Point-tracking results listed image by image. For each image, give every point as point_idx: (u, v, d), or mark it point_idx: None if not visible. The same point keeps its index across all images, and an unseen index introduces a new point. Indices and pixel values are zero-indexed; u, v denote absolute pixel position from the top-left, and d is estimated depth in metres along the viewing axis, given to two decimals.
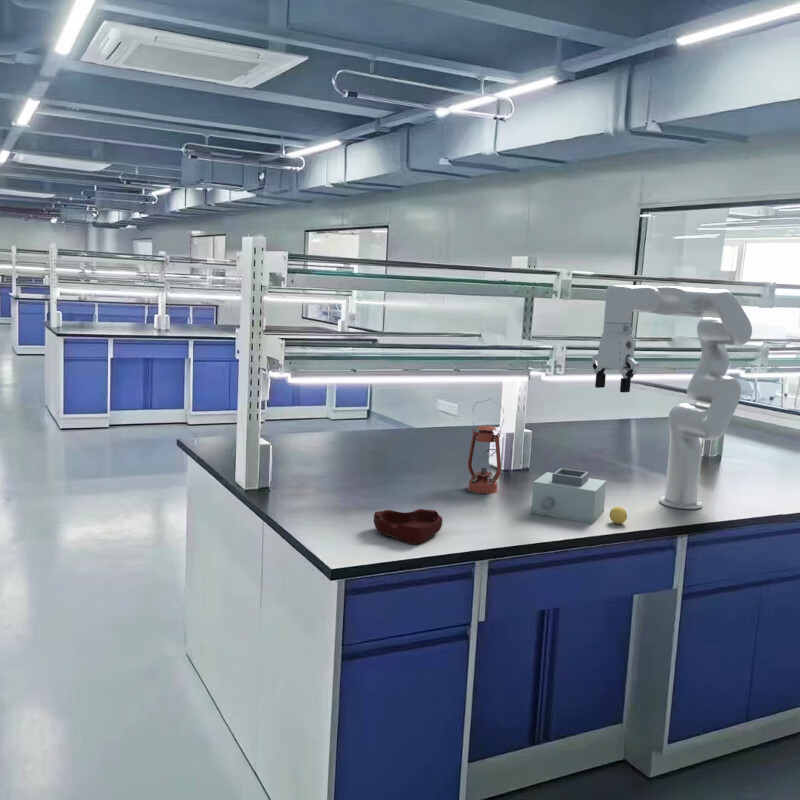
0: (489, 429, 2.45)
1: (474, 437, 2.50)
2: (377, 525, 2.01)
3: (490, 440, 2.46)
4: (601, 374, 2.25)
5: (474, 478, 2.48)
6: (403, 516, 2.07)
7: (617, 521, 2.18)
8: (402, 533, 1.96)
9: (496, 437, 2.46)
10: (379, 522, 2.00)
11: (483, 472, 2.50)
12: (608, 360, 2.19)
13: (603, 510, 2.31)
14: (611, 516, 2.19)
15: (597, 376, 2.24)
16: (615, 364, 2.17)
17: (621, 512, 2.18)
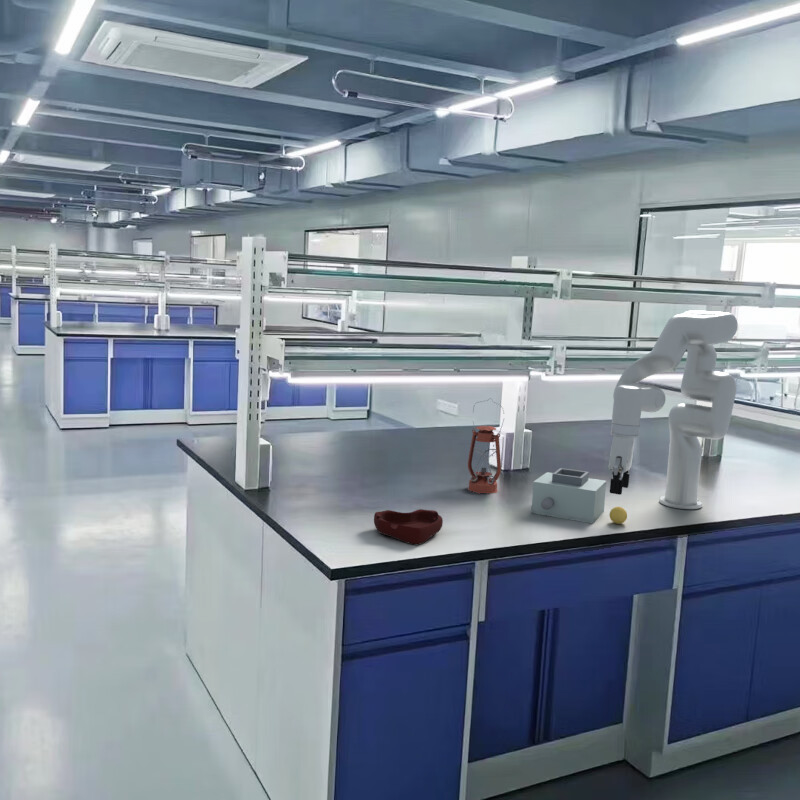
0: (489, 429, 2.45)
1: (474, 437, 2.50)
2: (377, 525, 2.01)
3: (490, 440, 2.46)
4: None
5: (474, 478, 2.48)
6: (403, 516, 2.06)
7: (617, 521, 2.18)
8: (402, 533, 1.96)
9: (496, 437, 2.46)
10: (379, 523, 2.00)
11: (483, 472, 2.50)
12: (630, 462, 2.16)
13: (603, 510, 2.31)
14: (611, 516, 2.19)
15: None
16: (631, 463, 2.19)
17: (621, 512, 2.18)
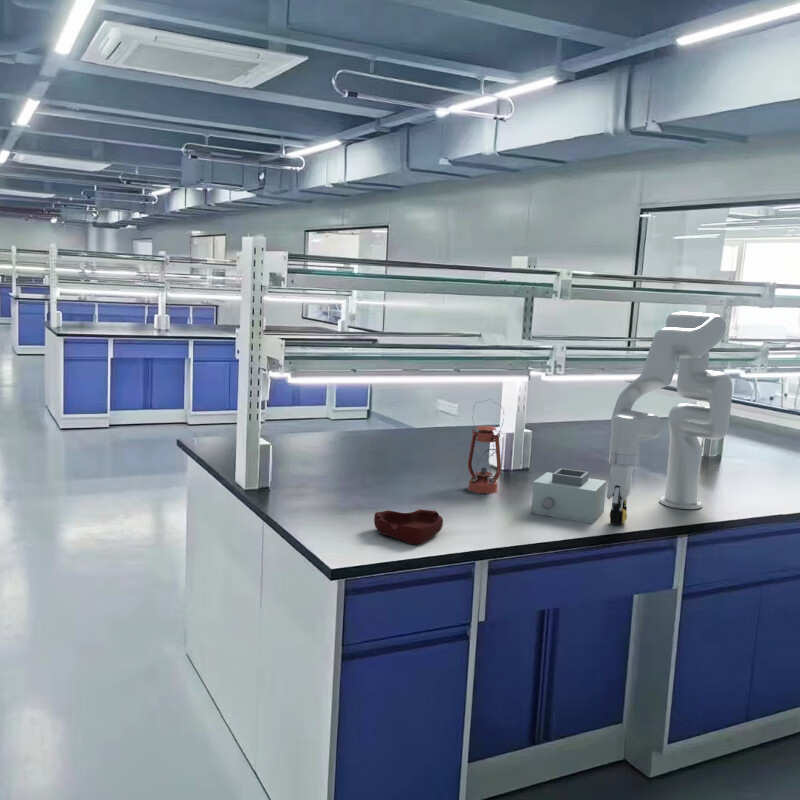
0: (489, 429, 2.45)
1: (474, 437, 2.50)
2: (377, 526, 2.00)
3: (490, 440, 2.46)
4: None
5: (474, 478, 2.48)
6: (403, 517, 2.06)
7: None
8: (402, 533, 1.96)
9: (496, 437, 2.46)
10: (379, 523, 1.99)
11: (483, 472, 2.50)
12: (628, 490, 2.18)
13: (603, 510, 2.31)
14: None
15: None
16: (629, 491, 2.20)
17: None
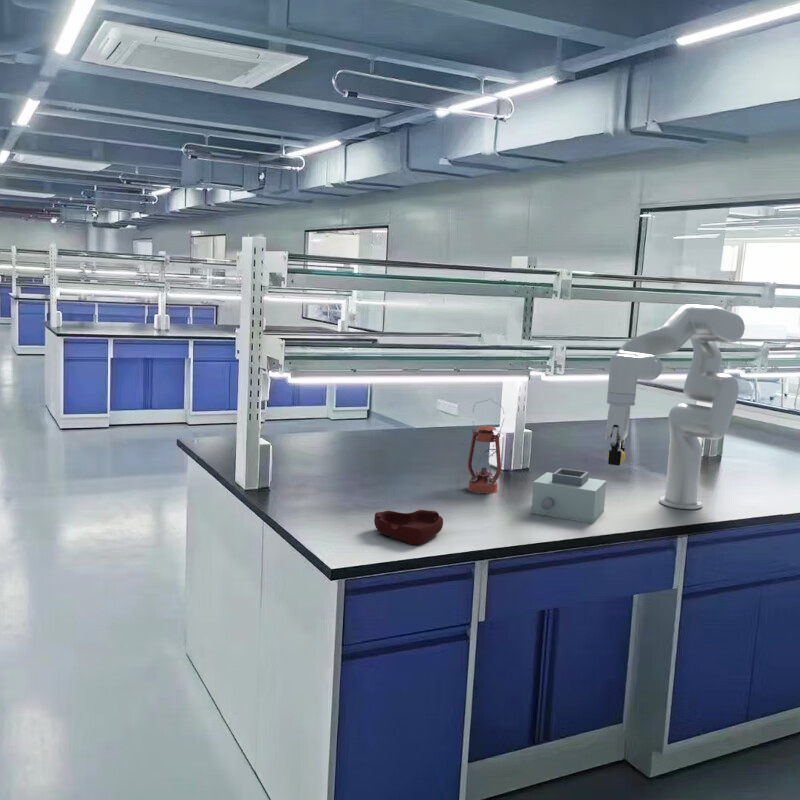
0: (489, 429, 2.45)
1: (474, 437, 2.50)
2: (378, 526, 2.00)
3: (490, 440, 2.46)
4: None
5: (474, 478, 2.48)
6: (404, 517, 2.06)
7: None
8: (403, 534, 1.95)
9: (496, 437, 2.46)
10: (380, 523, 1.99)
11: (483, 472, 2.50)
12: (627, 430, 2.17)
13: (603, 510, 2.31)
14: None
15: None
16: (627, 432, 2.19)
17: None
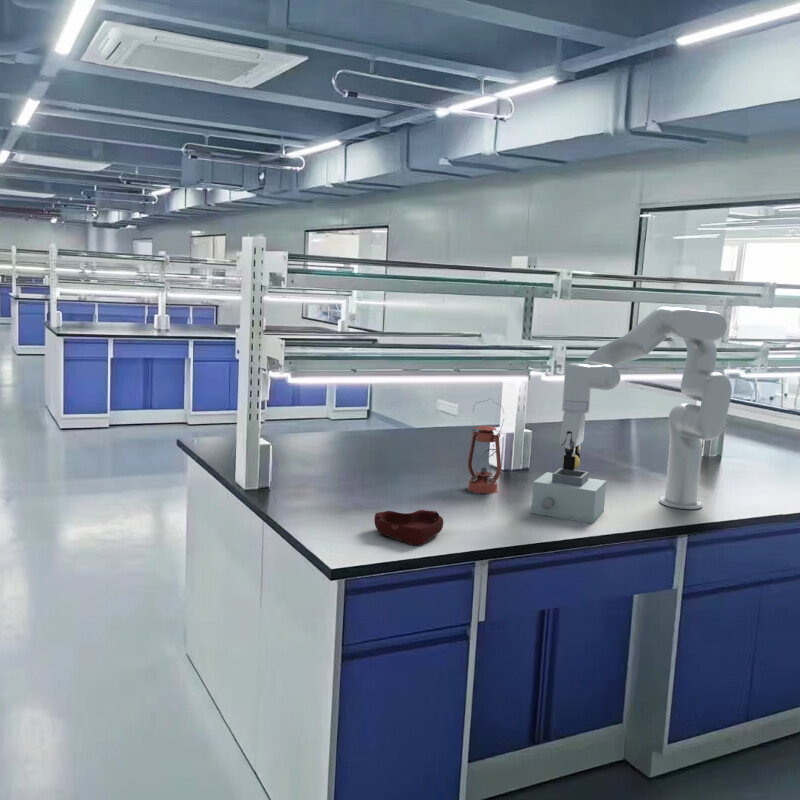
0: (489, 429, 2.45)
1: (474, 437, 2.50)
2: (378, 526, 2.00)
3: (490, 440, 2.46)
4: None
5: (474, 478, 2.48)
6: (404, 517, 2.06)
7: None
8: (403, 534, 1.95)
9: (496, 437, 2.46)
10: (380, 523, 1.99)
11: (483, 472, 2.50)
12: (581, 437, 2.25)
13: (603, 510, 2.31)
14: None
15: None
16: (582, 438, 2.28)
17: None
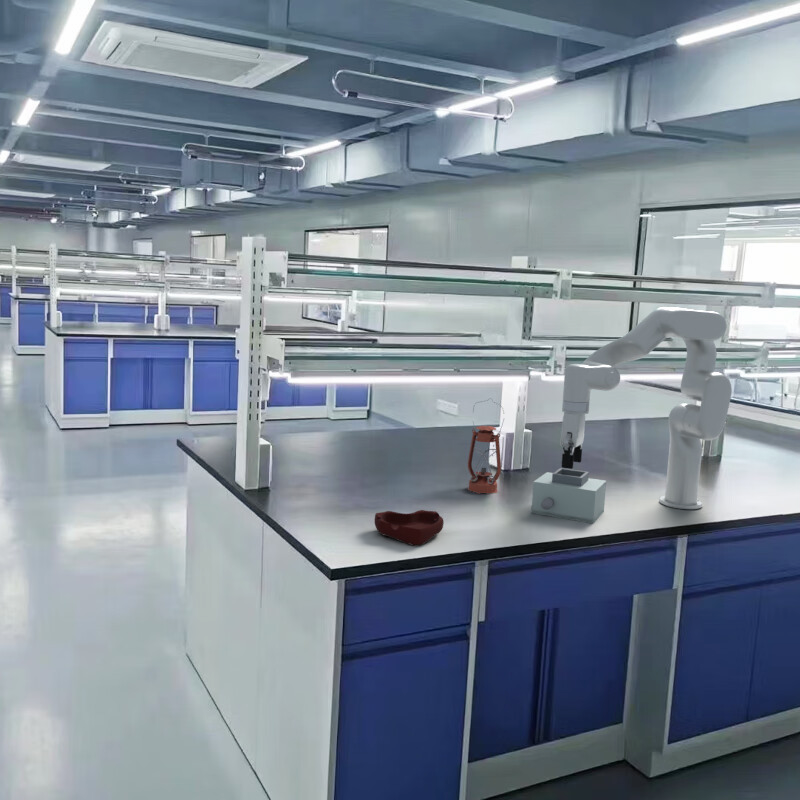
0: (489, 429, 2.45)
1: (474, 437, 2.50)
2: (378, 526, 2.00)
3: (490, 440, 2.46)
4: None
5: (474, 478, 2.48)
6: (404, 517, 2.06)
7: None
8: (403, 534, 1.95)
9: (496, 437, 2.46)
10: (380, 524, 1.99)
11: (483, 472, 2.50)
12: (581, 437, 2.25)
13: (603, 510, 2.31)
14: None
15: None
16: (582, 439, 2.28)
17: None
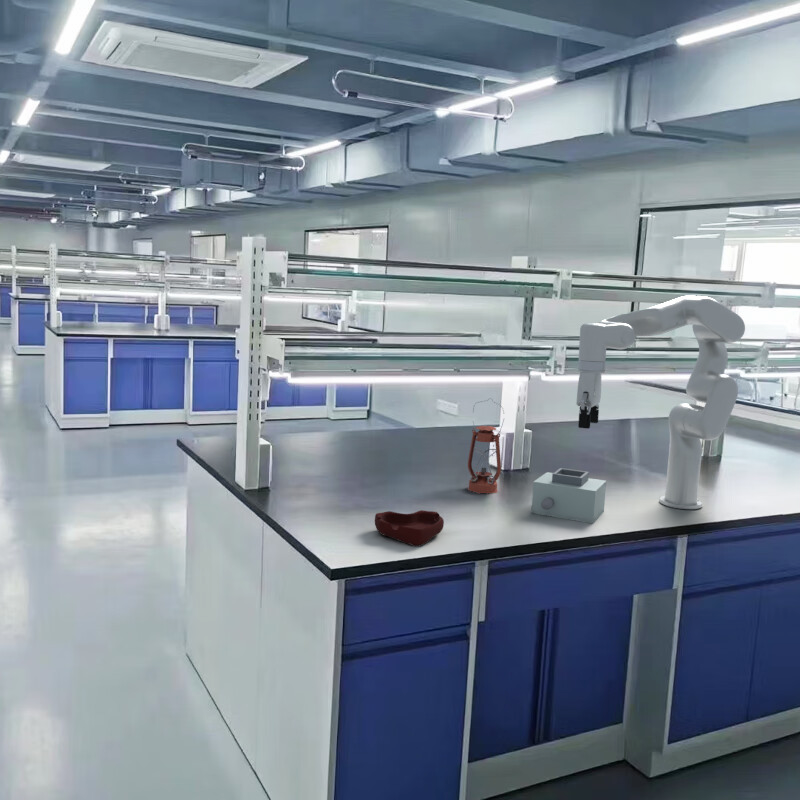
0: (489, 429, 2.45)
1: (474, 437, 2.50)
2: (378, 526, 2.00)
3: (490, 440, 2.46)
4: None
5: (474, 478, 2.48)
6: (404, 517, 2.05)
7: None
8: (403, 534, 1.95)
9: (496, 437, 2.46)
10: (380, 524, 1.99)
11: (483, 472, 2.50)
12: (598, 397, 2.24)
13: (603, 510, 2.31)
14: None
15: None
16: (599, 399, 2.26)
17: None
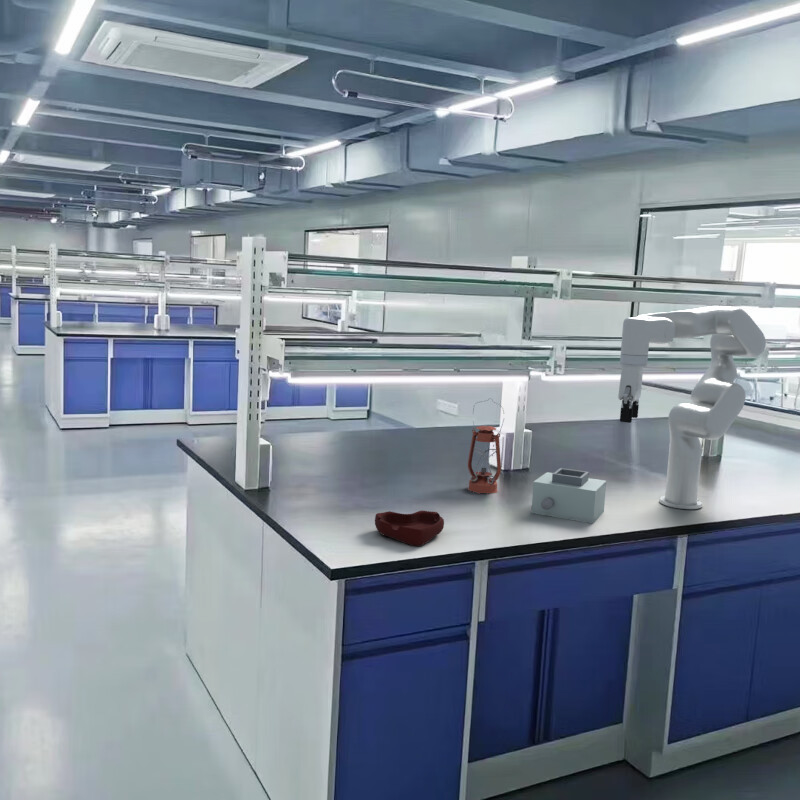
0: (489, 429, 2.45)
1: (474, 437, 2.50)
2: (378, 527, 2.00)
3: (490, 440, 2.46)
4: None
5: (474, 478, 2.48)
6: (404, 518, 2.05)
7: None
8: (403, 535, 1.95)
9: (496, 437, 2.46)
10: (380, 524, 1.99)
11: (483, 472, 2.50)
12: (639, 392, 2.23)
13: (603, 510, 2.31)
14: None
15: None
16: (640, 393, 2.26)
17: None
